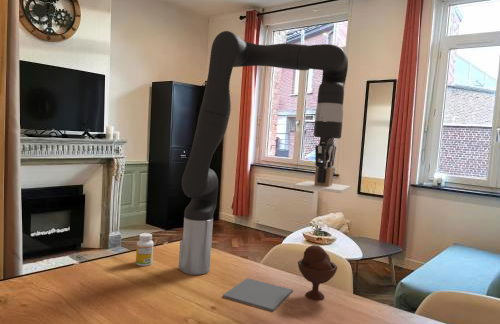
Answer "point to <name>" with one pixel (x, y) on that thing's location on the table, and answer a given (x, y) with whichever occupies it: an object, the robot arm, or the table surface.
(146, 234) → the supplement bottle
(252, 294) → the mat
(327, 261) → the ice cream bowl
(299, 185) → the lid
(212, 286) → the table surface
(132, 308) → the table surface
